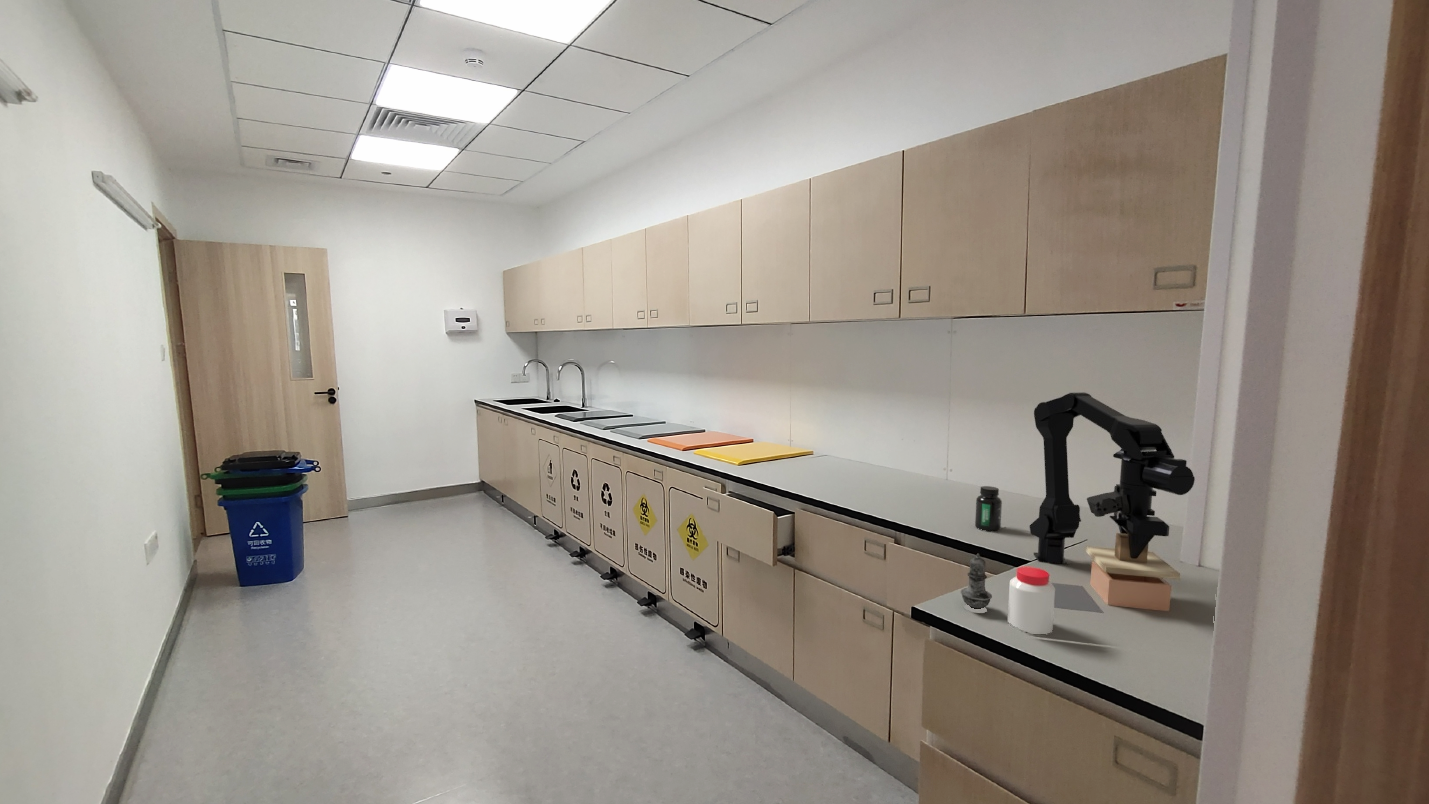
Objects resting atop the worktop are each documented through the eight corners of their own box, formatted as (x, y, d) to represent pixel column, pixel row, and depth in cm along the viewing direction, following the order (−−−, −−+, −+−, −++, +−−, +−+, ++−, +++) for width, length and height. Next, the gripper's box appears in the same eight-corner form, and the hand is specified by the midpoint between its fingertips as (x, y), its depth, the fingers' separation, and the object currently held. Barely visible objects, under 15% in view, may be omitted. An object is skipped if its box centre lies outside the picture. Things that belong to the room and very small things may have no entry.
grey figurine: (965, 601, 129) (967, 546, 128) (994, 609, 126) (997, 552, 124) (955, 611, 125) (958, 553, 124) (986, 619, 121) (989, 560, 120)
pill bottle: (1038, 617, 122) (1041, 564, 121) (1061, 636, 114) (1065, 579, 113) (999, 618, 122) (1002, 564, 121) (1020, 637, 114) (1023, 579, 113)
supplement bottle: (987, 533, 175) (989, 491, 174) (969, 526, 182) (971, 486, 180) (1005, 530, 178) (1008, 489, 177) (987, 523, 184) (989, 484, 183)
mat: (1013, 580, 141) (1013, 579, 140) (1082, 587, 137) (1082, 585, 137) (1026, 606, 127) (1027, 604, 127) (1103, 614, 123) (1103, 612, 123)
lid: (1085, 551, 138) (1087, 524, 138) (1152, 557, 135) (1154, 529, 134) (1105, 572, 126) (1107, 543, 125) (1179, 579, 122) (1182, 549, 122)
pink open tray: (1090, 587, 138) (1092, 561, 137) (1146, 592, 135) (1148, 566, 134) (1107, 607, 127) (1109, 579, 127) (1169, 614, 124) (1171, 585, 124)
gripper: (1079, 471, 140) (1075, 538, 141) (1107, 491, 122) (1102, 567, 123) (1135, 474, 137) (1130, 542, 138) (1173, 495, 119) (1166, 573, 120)
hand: (1130, 555), depth 130 cm, fingers closed on lid, 3 cm apart
